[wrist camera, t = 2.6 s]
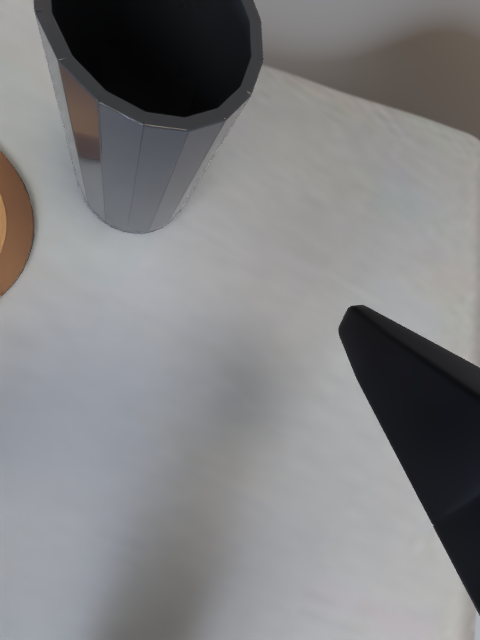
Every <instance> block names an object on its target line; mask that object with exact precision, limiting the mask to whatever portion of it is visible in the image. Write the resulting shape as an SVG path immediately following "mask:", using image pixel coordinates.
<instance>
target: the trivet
mask: <svg viewBox="0 0 480 640" xmlns="http://www.w3.org/2000/svg"><path fill="white" fill-rule="evenodd" d="M33 236H34V218H33V211H32V206H31V202H30V199H29V195H28V193H27V190H26V188H25V186H24V184H23V181H22V180H21V178H20V176H19V175H18V173H17V171H16V170H15V168H14V167H13V165H12V164H11V163H10V162H9V160H8V159H7V158H6V157H5V155H4V154H3V153H2V152H1V151H0V297H1V296H2V295H3V294H4V293H5V292H6V291H7V290H8V289H9V288H10V287H11V286H12V285H13V284H14V282H15V281H16V280H17V278H18V277H19V275H20V274H21V272H22V270H23V268H24V266H25V264H26V262H27V260H28V257H29V254H30V251H31V248H32V242H33Z"/></svg>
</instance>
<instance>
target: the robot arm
mask: <svg viewBox="0 0 480 640" xmlns="http://www.w3.org/2000/svg"><path fill="white" fill-rule="evenodd" d="M339 336H340V338H341V341H342V343H343V346H344V348H345V351H346V353H347V356H348V358H349V361H350V363H351V366H352V368H353V371H354V373H355V376H356V378H357V380H358V382H359V384H360V386H361V388H362V390H363V392H364V394H365V396H366V398H367V400H368V402H369V404H370V406H371V407H372V409H373V411H374V413H375V415H376V417H377V419H378V421H379V423H380V425H381V427H382V429H383V431H384V432H385V434H386V436H387V438H388V440H389V442H390V444H391V446H392V448H393V450H394V452H395V454H396V455H397V457H398V459H399V461H400V463H401V465H402V467H403V469H404V471H405V473H406V475H407V477H408V478H409V480H410V482H411V484H412V486H413V488H414V490H415V492H416V494H417V496H418V498H419V500H420V502H421V503H422V505H423V507H424V509H425V511H426V513H427V515H428V517H429V519H430V521H431V523H432V524H433V527H434V529H435V531H436V533H437V535H438V537H439V538H440V540H441V542H442V544H443V546H444V548H445V550H446V552H447V554H448V556H449V558H450V560H451V562H452V563H453V565H454V567H455V569H456V571H457V573H458V575H459V577H460V579H461V581H462V583H463V585H464V586H465V588H466V590H467V592H468V594H469V596H470V598H471V600H472V602H473V604H474V606H475V608H476V610H477V611H478V613H479V615H480V368H479V367H478V366H476V365H474V364H472V363H470V362H468V361H466V360H465V359H463V358H461V357H459V356H457V355H455V354H453V353H452V352H450V351H448V350H446V349H444V348H442V347H440V346H439V345H437V344H435V343H433V342H431V341H429V340H428V339H426V338H424V337H422V336H420V335H418V334H416V333H415V332H413V331H411V330H409V329H407V328H405V327H403V326H402V325H400V324H398V323H396V322H394V321H392V320H391V319H389V318H387V317H385V316H383V315H381V314H379V313H378V312H376V311H374V310H372V309H370V308H368V307H366V306H364V305H356V306H350V307H349V308H348V309H347V311H346V313H345V315H344V317H343V319H342V321H341V323H340V325H339Z"/></svg>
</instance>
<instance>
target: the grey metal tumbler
mask: <svg viewBox="0 0 480 640" xmlns="http://www.w3.org/2000/svg"><path fill="white" fill-rule="evenodd" d="M34 12H35V16H36V20H37V23H38V27H39V31H40V35H41V39H42V43H43V47H44V51H45V55H46V59H47V63H48V67H49V71H50V75H51V79H52V83H53V87H54V91H55V95H56V99H57V103H58V107H59V111H60V115H61V119H62V123H63V127H64V131H65V135H66V139H67V143H68V147H69V151H70V155H71V159H72V163H73V167H74V171H75V175H76V179H77V183H78V186H79V188H80V190H81V193H82V196H83V198H84V200H85V202H86V203H87V205H88V207H89V208H90V209H91V210H92V212H93V213H94V214H95V215H96V216H97V217H98V218H99V219H101V220H102V221H103V222H105V223H106V224H108V225H109V226H111V227H113V228H115V229H118V230H121V231H124V232H129V233H148V232H153V231H156V230H158V229H160V228H163V227H164V226H166V225H167V224H168V223H170V222H171V221H172V220H173V219H174V218H175V216H176V215H177V214H178V213H179V212H180V211H181V209H182V207H183V206H184V204H185V202H186V201H187V199H188V198H189V196H190V194H191V193H192V191H193V189H194V188H195V186H196V185H197V183H198V181H199V180H200V178H201V176H202V175H203V173H204V171H205V170H206V168H207V167H208V165H209V163H210V162H211V160H212V158H213V157H214V155H215V154H216V152H217V150H218V149H219V147H220V145H221V144H222V142H223V141H224V139H225V137H226V136H227V134H228V132H229V131H230V129H231V128H232V126H233V124H234V123H235V121H236V119H237V118H238V116H239V114H240V113H241V111H242V110H243V108H244V106H245V105H246V103H247V101H248V100H249V98H250V97H251V95H252V92H253V89H254V86H255V84H256V81H257V78H258V75H259V72H260V69H261V66H262V63H263V47H262V29H261V21H260V16H259V14H258V11H257V9H256V6H255V3H254V1H253V0H34Z"/></svg>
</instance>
